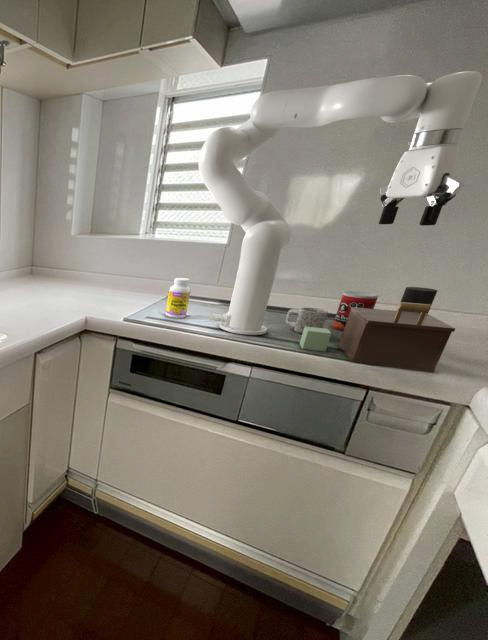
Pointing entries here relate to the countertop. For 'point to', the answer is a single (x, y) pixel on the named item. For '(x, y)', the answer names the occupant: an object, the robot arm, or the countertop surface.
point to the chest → (392, 345)
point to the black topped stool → (418, 296)
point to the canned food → (350, 301)
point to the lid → (403, 317)
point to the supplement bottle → (178, 298)
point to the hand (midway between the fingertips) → (405, 224)
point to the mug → (307, 318)
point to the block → (315, 338)
